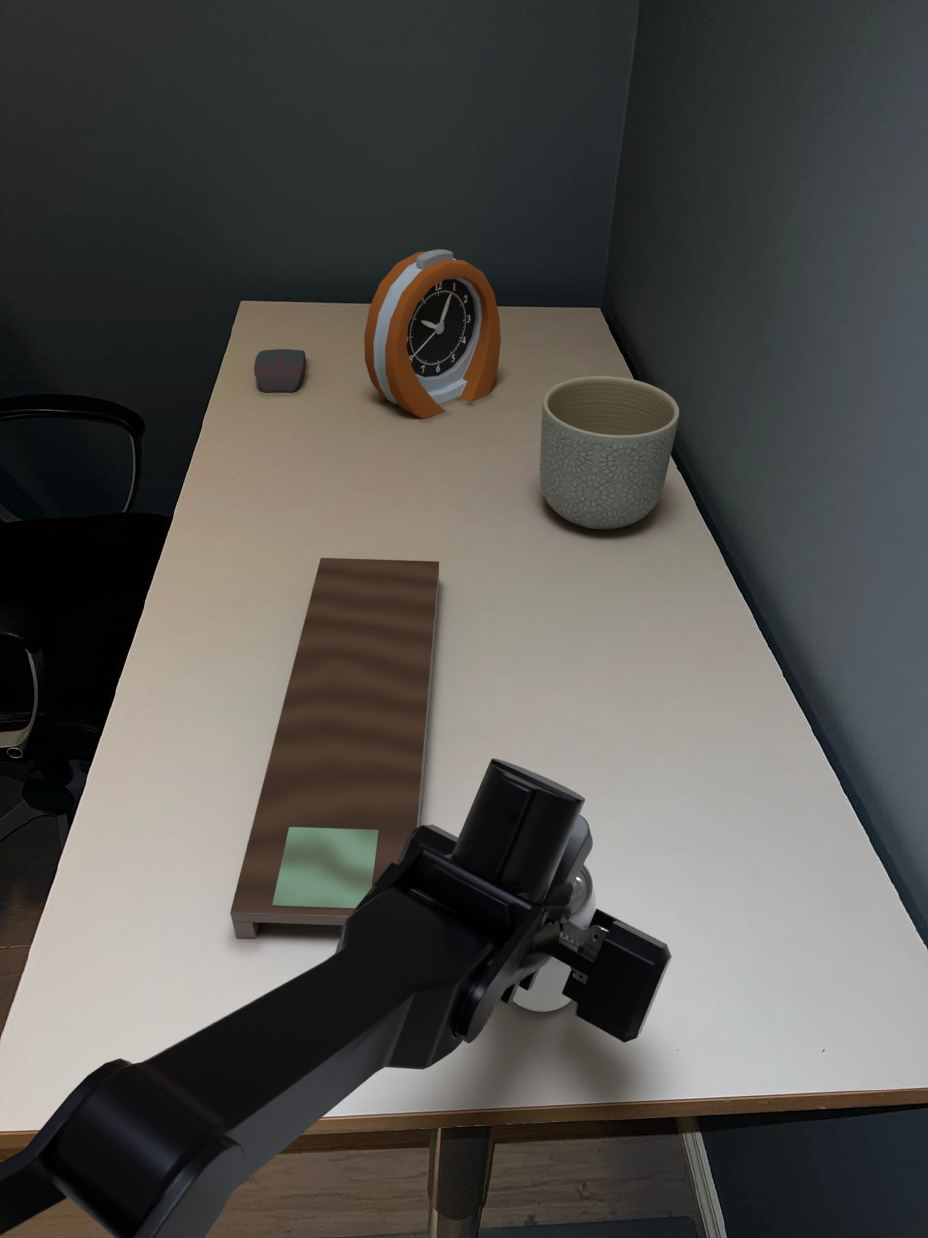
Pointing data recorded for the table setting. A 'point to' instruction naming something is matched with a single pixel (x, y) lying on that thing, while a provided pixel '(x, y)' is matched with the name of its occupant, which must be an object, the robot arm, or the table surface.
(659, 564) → the table surface
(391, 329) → the alarm clock
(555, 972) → the can
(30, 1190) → the robot arm
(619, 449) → the planter
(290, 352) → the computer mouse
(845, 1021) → the table surface
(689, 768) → the table surface
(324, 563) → the shelf
